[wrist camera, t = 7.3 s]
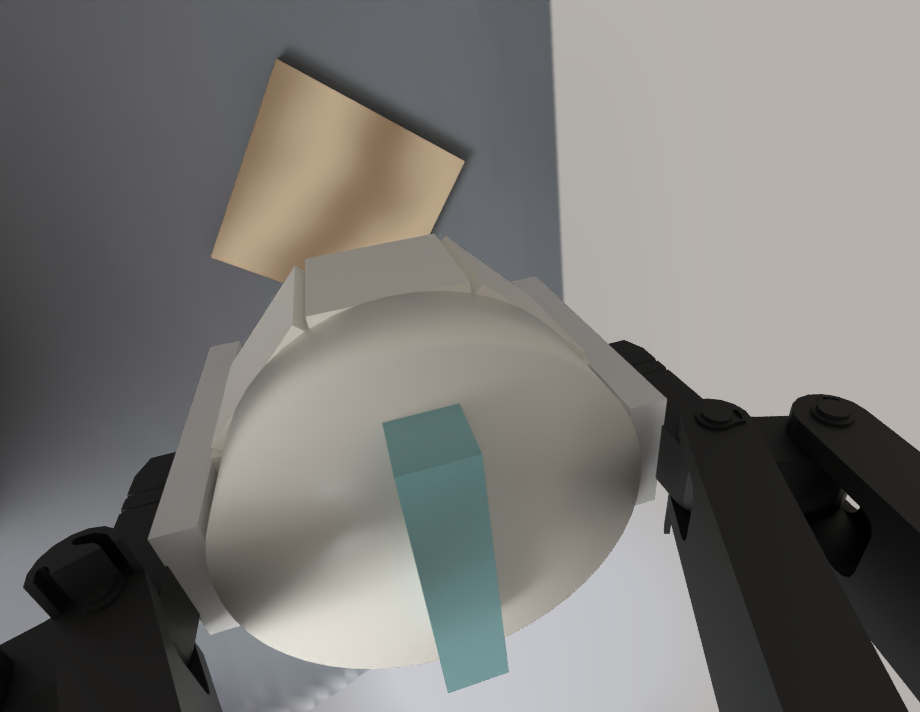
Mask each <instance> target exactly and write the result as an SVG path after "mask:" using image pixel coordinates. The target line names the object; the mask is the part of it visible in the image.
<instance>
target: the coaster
mask: <svg viewBox="0 0 920 712" xmlns="http://www.w3.org/2000/svg"><path fill="white" fill-rule="evenodd" d="M464 162H465V161H463V160H462V159H460V158H458V157H456V156H455V155H453V154H451V153H449V152H447V151H445V150H443V149H442V148H440V147H438V146H436V145H434V144H432V143H431V142H429V141H427V140H425V139H423V138H421V137H420V136H418V135H416V134H414V133H412V132H410V131H409V130H407V129H405V128H403V127H401V126H399V125H398V124H396V123H394V122H392V121H390V120H388V119H387V118H385V117H383V116H381V115H379V114H377V113H376V112H374V111H372V110H370V109H368V108H366V107H365V106H363V105H361V104H359V103H357V102H355V101H354V100H352V99H350V98H348V97H346V96H344V95H343V94H341V93H339V92H337V91H335V90H333V89H332V88H330V87H328V86H326V85H324V84H322V83H321V82H319V81H317V80H315V79H313V78H311V77H309V76H308V75H306V74H304V73H302V72H300V71H298V70H297V69H295V68H293V67H291V66H289V65H287V64H286V63H284V62H282V61H280V60H278V59H276V61H275V64H274V67H273V70H272V73H271V76H270V79H269V82H268V85H267V88H266V91H265V94H264V97H263V100H262V103H261V106H260V110H259V113H258V116H257V119H256V122H255V125H254V128H253V131H252V134H251V137H250V140H249V143H248V146H247V149H246V152H245V155H244V158H243V161H242V164H241V167H240V170H239V173H238V176H237V179H236V182H235V185H234V188H233V191H232V194H231V197H230V200H229V203H228V206H227V209H226V212H225V215H224V218H223V221H222V225H221V228H220V231H219V234H218V237H217V240H216V243H215V246H214V249H213V252H212V255H211V257H212V258H214V259H217V260H220V261H223V262H226V263H228V264H231V265H234V266H237V267H240V268H242V269H245V270H248V271H251V272H254V273H257V274H259V275H262V276H265V277H268V278H271V279H273V280H276V281H279V282H282V283H284V282H285V280H286V279H287V277H288V275H289V274H290V272H291V271H292V269H293V268H294V266H297V267H299V268H300V269H302V270H304V271H305V259H307V258H312V257H317V256H322V255H327V254H332V253H337V252H342V251H347V250H352V249H358V248H363V247H368V246H373V245H378V244H383V243H388V242H393V241H398V240H403V239H408V238H414V237H419V236H424V235H429V234H430V233H431V231H432V229H433V227H434V224H435V222H436V220H437V218H438V216H439V214H440V212H441V210H442V208H443V206H444V204H445V202H446V200H447V198H448V195H449V193H450V191H451V189H452V187H453V185H454V183H455V181H456V179H457V177H458V175H459V173H460V171H461V169H462V166H463V164H464Z"/></svg>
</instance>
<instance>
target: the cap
mask: <svg viewBox="0 0 920 712" xmlns="http://www.w3.org/2000/svg"><path fill="white" fill-rule="evenodd" d="M586 355H587V354H586V353H585V352H584V351H583V350H582V349H581V348H580V347H579V346H578V345H577V344H576V343H575V341H574V340H573V339H572V338H571V337H570V336H569V335H568V334H567V333H566V332H565V331H564V330H563V329H562V328H561V327H560V326H559V325H558V324H557V323H556V322H555V321H554V320H553V319H552V318H551V317H550V315H549V314H548V313H547V312H546V311H545V310H544V309H543V308H542V307H541V306H540V305H539V304H538V303H537V302H536V301H535V300H534V299H533V298H532V297H531V296H529V295H528V294H526V293H525V292H524V291H522V290H521V289H519V288H518V287H517V286H515V285H514V284H512V283H511V282H510V281H508V280H507V279H505V278H504V277H502V276H501V275H500V274H498V273H497V272H495V271H494V270H493V269H491V268H490V267H488V266H487V265H486V264H484V263H483V262H481V261H480V260H479V259H477V258H476V257H474V256H473V255H472V254H470V253H469V252H467V251H466V250H464V249H463V248H462V247H460V246H459V245H457V244H456V243H455V242H453V241H452V240H450V239H449V238H448V237H446V236H445V237H444V238H443V239H442V241H441V242H440V241H439V239H438V238H437V237H436V235H435V234H429V235H424V236H419V237H414V238H408V239H403V240H398V241H393V242H388V243H383V244H378V245H373V246H368V247H363V248H358V249H352V250H347V251H342V252H337V253H332V254H327V255H322V256H317V257H312V258H307V259H305V271H304V270H302V269H300V268H299V267H297V266H294V268H293V269H292V271H291V272H290V274H289V275H288V277H287V279H286V280H285V282H284V283H283V285H282V286H281V288H280V290H279V291H278V293H277V294H276V296H275V297H274V299H273V300H272V302H271V304H270V305H269V307H268V308H267V310H266V311H265V313H264V314H263V316H262V318H261V319H260V321H259V322H258V324H257V325H256V327H255V329H254V330H253V332H252V333H251V335H250V336H249V338H248V339H247V341H246V343H245V344H244V346H243V347H242V349H241V350H240V352H239V353H238V355H237V357H236V358H235V360H234V361H233V363H232V364H231V366H230V370H229V375H228V379H227V383H226V387H225V391H224V395H223V399H222V404H221V408H220V412H219V416H218V420H217V424H216V429H215V433H214V437H213V441H212V445H211V448H213V449H212V453H211V457H210V460H211V462H212V464H213V466H214V468H215V470H216V472H217V474H218V477H217V482H216V487H215V492H214V496H213V501H212V506H211V511H210V516H209V522H208V528H207V533H206V562H207V566H208V570H209V574H210V578H211V583H212V585H213V587H214V589H215V591H216V593H217V595H218V597H219V599H220V601H221V603H222V604H223V606H224V607H225V608H226V610H227V611H228V612H229V614H230V615H231V616H232V618H233V619H234V620H235V621H236V622H237V623H239V624H240V625H241V626H242V627H243V628H244V629H245V630H246V631H247V632H248V633H250V634H251V635H253V636H254V637H256V638H257V639H259V640H260V641H262V642H263V643H265V644H266V645H268V646H270V647H272V648H274V649H276V650H278V651H281V652H283V653H285V654H287V655H290V656H293V657H296V658H299V659H302V660H305V661H309V662H313V663H318V664H323V665H327V666H334V667H343V668H352V669H383V668H399V667H406V666H413V665H420V664H425V663H430V662H434V661H439V660H440V662H441V667H442V671H443V674H444V679H445V683H446V686H447V690H448V693H450V692H453V691H456V690H459V689H462V688H465V687H468V686H470V685H473V684H476V683H479V682H482V681H485V680H488V679H490V678H494V677H496V676H499V675H502V674H505V673H508V672H509V670H508V662H507V653H506V645H505V637H506V636H509V635H511V634H512V633H515V632H516V631H518V630H520V629H522V628H524V627H525V626H527V625H529V624H531V623H533V622H534V621H536V620H537V619H539V618H540V617H542V616H543V615H545V614H546V613H548V612H549V611H551V610H552V609H554V608H555V607H556V606H558V605H559V604H560V603H561V602H563V601H564V600H565V599H567V598H568V597H569V596H570V595H571V594H572V593H574V592H575V591H576V590H577V589H578V588H579V587H580V586H581V585H582V584H584V583H585V582H586V581H587V579H588V578H589V577H590V576H591V575H592V574H593V573H594V572H595V571H596V570H597V569H598V568H599V567H600V565H601V564H602V563H603V561H604V560H605V559H606V558H607V556H608V555H609V554H610V552H611V551H612V549H613V548H614V546H615V545H616V543H617V541H618V540H619V538H620V537H621V535H622V534H623V531H624V530H625V527H626V525H627V523H628V521H629V519H630V517H631V515H632V512H633V509H634V506H635V503H636V500H637V497H638V491H639V486H640V480H641V453H640V447H639V440H638V437H637V434H636V431H635V429H634V426H633V423H632V420H631V419H630V417H629V415H628V414H627V412H626V410H625V408H624V407H623V405H622V403H621V402H620V401H619V400H618V399H617V398H616V397H615V395H614V394H613V393H612V392H611V391H610V390H609V389H608V387H607V386H606V385H605V384H604V383H603V382H602V381H601V380H600V379H599V378H598V377H597V376H596V374H595V373H594V372H593V371H592V370H591V363H590V361H589V360H588V359H587V358H586V357H585V356H586Z"/></svg>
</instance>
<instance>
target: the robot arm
mask: <svg viewBox="0 0 920 712" xmlns="http://www.w3.org/2000/svg"><path fill="white" fill-rule="evenodd" d="M512 284H514V285H515V286H517V287H518V288H519V289H521V290H522V291H524V292H525V293H526V294H528V295H529V296H531V297H532V298H533V299H534V300H535V301H536V302H537V303H538V304H539V305H540V306H541V307H542V308H543V309H544V310H545V311H546V312H547V313H548V314H549V315H550V317H551V318H552V319H553V320H554V321H555V322H556V323H557V324H558V325H559V326H560V327H561V328H562V329H563V330H564V331H565V332H566V333H567V334H568V335H569V336H570V337H571V338H572V339H573V340H574V341H575V343H576V344H577V345H578V346H579V347H580V348H581V349H582V350H583V351H584V352H585V353H586V354H587V355H586V356H585V357H586V358H587V359H588V360H589V361H590V363H591V370H592V371H593V372H594V373H595V374H596V376H597V377H598V378H599V379H600V380H601V381H602V382H603V383H604V384H605V385H606V386H607V387H608V389H609V390H610V391H611V392H612V393H613V394H614V395H615V397H616V398H617V399H618V400H619V401H620V402H621V403H622V405H623V407H624V408H625V410H626V412H627V414H628V415H629V417H630V419H631V420H632V423H633V426H634V429H635V431H636V434H637V437H638V440H639V447H640V453H641V480H640V486H639V491H638V497H637V500H636V503H635V505H638V504H641V503H645V502H648V501H651V500H654V499H655V492H656V484H657V480H658V481H659V482H660V483H661V485H662V486H663V487H664V488H665V489H666V491H667V492H668V493H669V495H668V502H667V509H666V516H665V523H664V534H669V533H670V527H671V525H672V529H673V533H674V536H675V541H676V545H677V548H678V552H679V556H680V560H681V564H682V567H683V571H684V576H685V579H686V583H687V587H688V591H689V595H690V599H691V603H692V607H693V611H694V615H695V619H696V622H697V626H698V630H699V634H700V638H701V642H702V646H703V649H704V654H705V658H706V662H707V665H708V669H709V673H710V677H711V681H712V685H713V689H714V693H715V697H716V700H717V704H718V708H719V712H908V710H907V708H906V706H905V704H904V702H903V701H902V699H901V697H900V695H899V693H898V691H897V689H896V687H895V685H894V684H893V682H892V680H891V678H890V676H889V674H888V672H887V671H886V669H885V667H884V665H883V663H882V661H881V659H880V657H879V655H878V654H877V652H876V650H875V648H874V646H873V644H874V645H875V646H876V648H877V649H878V650H879V651H880V652H881V654H882V655H883V656H884V658H885V659H886V660H887V661H888V663H889V664H890V665H891V666H892V668H893V669H894V670H895V671H896V673H897V674H898V675H899V677H900V678H901V679H902V680H903V682H904V683H905V684H906V685H907V686H908V688H909V689H910V690H911V692H912V693H913V694H914V695H915V697H916V698H917V699H918V700H919V702H920V452H919V451H918V450H917V449H916V448H914V447H913V446H912V445H910V444H909V443H908V442H907V441H905V440H904V439H903V438H901V437H900V436H899V435H898V434H896V433H895V432H894V431H892V430H891V429H890V428H889V427H887V426H886V425H885V424H883V423H882V422H881V421H879V420H878V419H877V418H876V417H874V416H873V415H872V414H871V413H869V412H868V411H867V410H865V409H864V408H862V407H860V406H858V405H857V404H855V403H854V402H851V401H849V400H846V399H843V398H840V397H836V396H832V395H831V396H830V395H823V394H816V395H815V394H813V395H806V396H803V397H800V398H798V399H797V400H796V401H795V402H794V403H793V404H792V407H791V410H790V414H789V416H769V417H750V416H749V415H748V413H747V412H746V411H745V410H743V409H742V408H740V407H738V406H736V405H735V404H732V403H729V402H726V401H723V400H716V399H702V398H701V397H700V396H699V395H697V393H695V392H694V391H693V390H692V389H691V388H689V387H688V386H687V385H686V384H685V383H684V382H682V381H681V380H680V379H679V378H678V377H677V376H675V375H674V374H673V373H672V372H671V371H669V370H666V367H665V366H664V365H662V364H661V363H660V362H659V361H656V360H655V358H654V357H653V356H652V355H651V354H649V353H648V352H647V351H646V350H645V349H644V348H642V347H640V346H637V345H635V344H632V343H630V342H628V341H625V340H622V341H618V342H614V343H610V344H608V343H607V342H605V341H604V340H603V339H602V338H601V337H600V336H599V335H598V334H597V333H596V332H595V331H594V330H593V329H592V328H590V327H589V326H588V325H587V324H586V323H585V322H584V321H583V320H582V319H581V318H580V317H579V316H577V315H576V314H575V313H574V312H573V311H572V310H571V309H570V308H569V307H568V306H567V305H566V304H565V303H564V302H563V301H562V300H560V299H559V298H558V297H557V296H556V295H555V294H554V293H553V292H552V291H551V290H550V289H549V288H548V287H547V286H546V285H544V284H543V283H542V282H541V281H540V280H539V279H538V278H537V277H536V276H534V277H530V278H525V279H521V280H516V281H512ZM241 349H242V346H241V343H240V341H236V342H231V343H226V344H222V345H217V346H213V347H210V350H209V353H208V356H207V359H206V362H205V365H204V368H203V371H202V374H201V377H200V380H199V383H198V386H197V389H196V393H195V396H194V399H193V402H192V405H191V408H190V411H189V414H188V417H187V420H186V423H185V426H184V429H183V432H182V435H181V439H180V442H179V445H178V448H177V451H176V452H174V453H170V454H166V455H162V456H158V457H154V458H151V459H150V460H149V461H148V462H147V463H146V465H145V466H144V467H143V468H142V469H141V470H140V471H139V472H138V473H137V475H136V476H135V477H134V480H133V482H132V485H131V487H130V489H129V492H128V494H127V496H128V498H127V499H125V502H124V504H123V507H122V509H121V512H122V514H119V517H118V519H117V521H116V524H115V526H114V528H110V527H106V526H102V527H95V528H88V529H86V530H83V531H81V532H78V533H75V534H73V535H71V536H69V537H67V538H66V539H64V540H62V541H61V542H59V543H57V544H56V545H54V546H53V547H52V548H50V549H49V550H48V551H47V552H46V553H45V554H44V555H42V556H41V557H40V558H39V559H38V560H37V561H36V563H35V564H34V565H33V567H32V568H31V569H30V571H29V572H28V574H27V576H26V579H25V583H24V586H23V588H24V589H25V590H26V591H27V592H28V593H29V594H30V596H31V597H32V598H33V599H34V600H35V601H36V602H37V603H38V604H39V605H40V606H41V607H42V608H43V610H44V611H45V612H46V613H47V614H48V615H49V616H50V617H51V618H50V619H48V620H47V621H45V622H43V623H41V624H39V625H38V626H36V627H34V628H32V629H30V630H28V631H26V632H24V633H22V634H20V635H18V636H16V637H14V638H13V639H11V640H9V641H7V642H5V643H3V644H1V645H0V712H222V709H221V706H220V703H219V700H218V697H217V694H216V691H215V688H214V685H213V682H212V679H211V676H210V672H209V669H208V666H207V663H206V660H205V657H204V654H203V653H202V651H201V650H200V648H199V647H198V645H197V644H196V642H195V638H196V633H197V628H198V622H199V618H200V620H201V621H202V623H203V624H204V626H205V627H206V629H207V630H208V632H209V633H210V635H212V634H215V633H218V632H221V631H225V630H228V629H231V628H235V627H238V626H241V625H240V624H239V623H237V622H236V621H235V620H234V619H233V618H232V616H231V615H230V614H229V612H228V611H227V610H226V608H225V607H224V606H223V604H222V603H221V601H220V599H219V597H218V595H217V593H216V591H215V589H214V587H213V585H212V583H211V578H210V574H209V570H208V566H207V562H206V533H207V528H208V522H209V516H210V511H211V506H212V501H213V496H214V492H215V487H216V482H217V477H218V474H217V472H216V470H215V468H214V466H213V464H212V462H211V460H210V457H211V453H212V449H213V448H211V445H212V441H213V437H214V433H215V429H216V424H217V420H218V416H219V412H220V408H221V404H222V399H223V395H224V391H225V387H226V383H227V379H228V375H229V370H230V366H231V364H232V363H233V361H234V360H235V358H236V357H237V355H238V353H239V352H240V350H241ZM847 494H848V495H849V496H850V497H851V498H852V499H853V500H854V501H855V502H856V503H857V504H858V505H859V506H860V508H859V509H858V510H857V509H856V508H854V507H853V506H852V505H851V504H850V503H849V502H848V501H847V500H846V496H847ZM871 641H872V642H871ZM872 643H873V644H872Z"/></svg>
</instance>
